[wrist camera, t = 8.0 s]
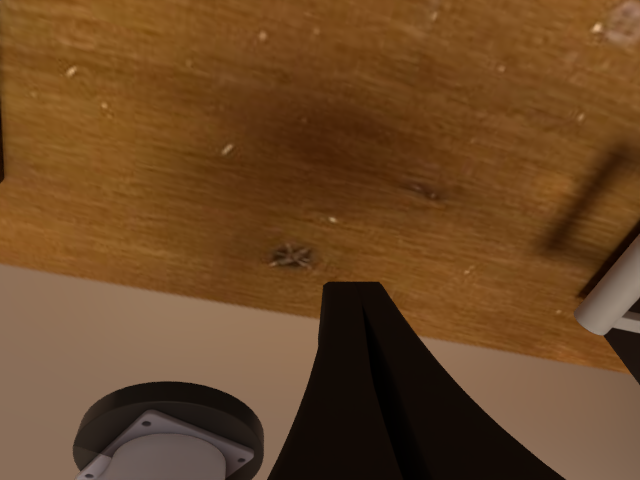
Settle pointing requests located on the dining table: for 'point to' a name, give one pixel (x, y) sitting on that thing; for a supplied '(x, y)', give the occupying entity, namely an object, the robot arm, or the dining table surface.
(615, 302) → the drawer
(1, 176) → the panel
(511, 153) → the dining table surface
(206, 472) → the robot arm
